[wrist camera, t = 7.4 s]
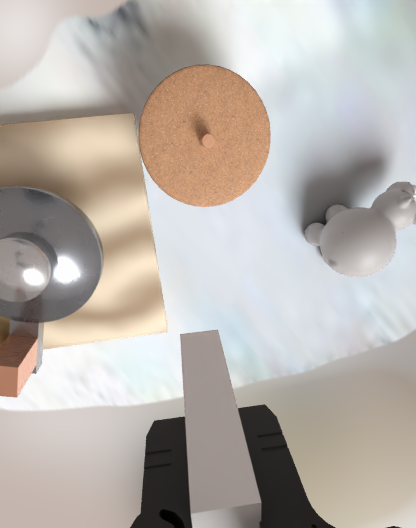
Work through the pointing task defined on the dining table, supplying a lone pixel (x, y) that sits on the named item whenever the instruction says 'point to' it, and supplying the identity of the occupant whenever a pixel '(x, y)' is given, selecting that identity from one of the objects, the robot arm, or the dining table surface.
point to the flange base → (94, 218)
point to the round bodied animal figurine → (364, 231)
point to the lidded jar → (204, 135)
